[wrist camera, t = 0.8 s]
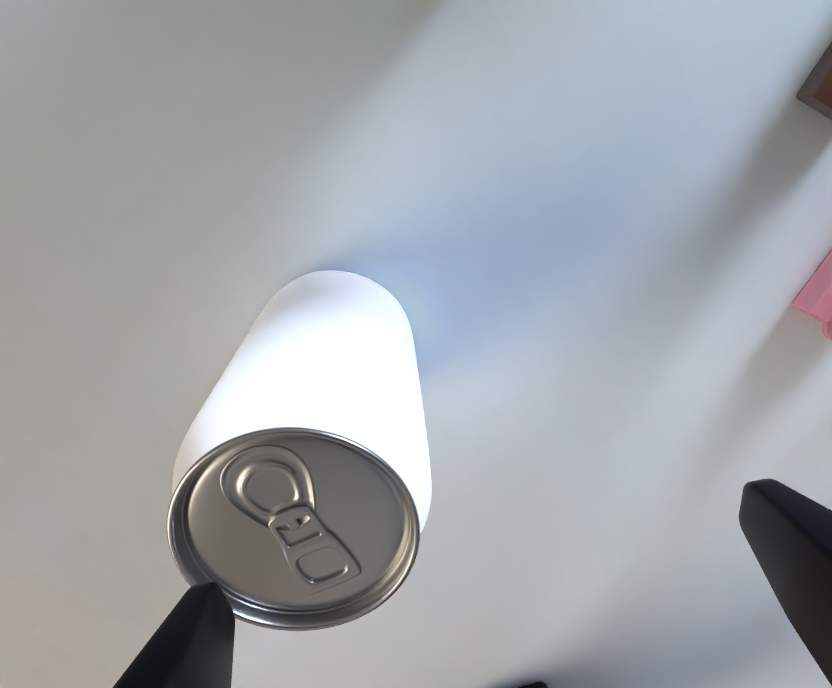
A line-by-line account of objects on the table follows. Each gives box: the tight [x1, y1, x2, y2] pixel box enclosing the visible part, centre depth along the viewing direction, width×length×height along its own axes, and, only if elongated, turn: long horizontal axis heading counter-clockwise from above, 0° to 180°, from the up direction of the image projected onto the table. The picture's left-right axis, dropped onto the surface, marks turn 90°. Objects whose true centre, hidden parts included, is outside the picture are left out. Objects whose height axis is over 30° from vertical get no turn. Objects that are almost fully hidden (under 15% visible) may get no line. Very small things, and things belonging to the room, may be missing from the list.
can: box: [167, 270, 432, 631], centre depth 18 cm, size 6×6×12 cm
